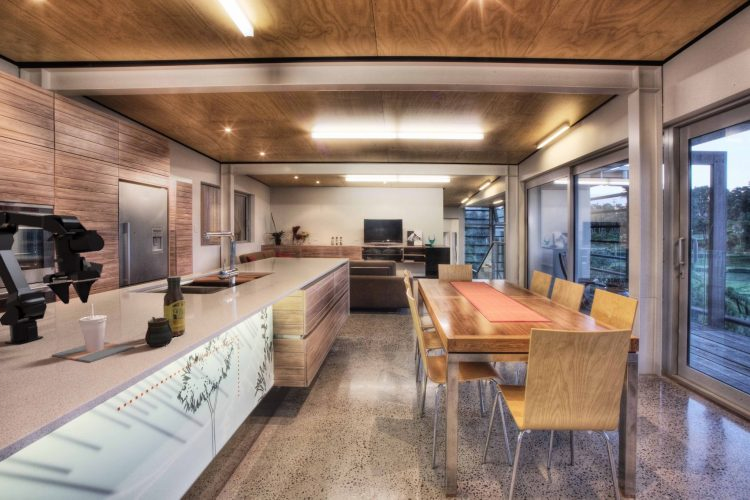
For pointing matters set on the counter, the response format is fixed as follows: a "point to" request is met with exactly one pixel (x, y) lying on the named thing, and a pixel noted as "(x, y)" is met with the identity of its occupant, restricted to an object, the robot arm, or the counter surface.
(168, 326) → the mate gourd
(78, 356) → the slate board
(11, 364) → the counter surface
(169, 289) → the sauce bottle
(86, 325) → the smoothie
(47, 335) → the counter surface
